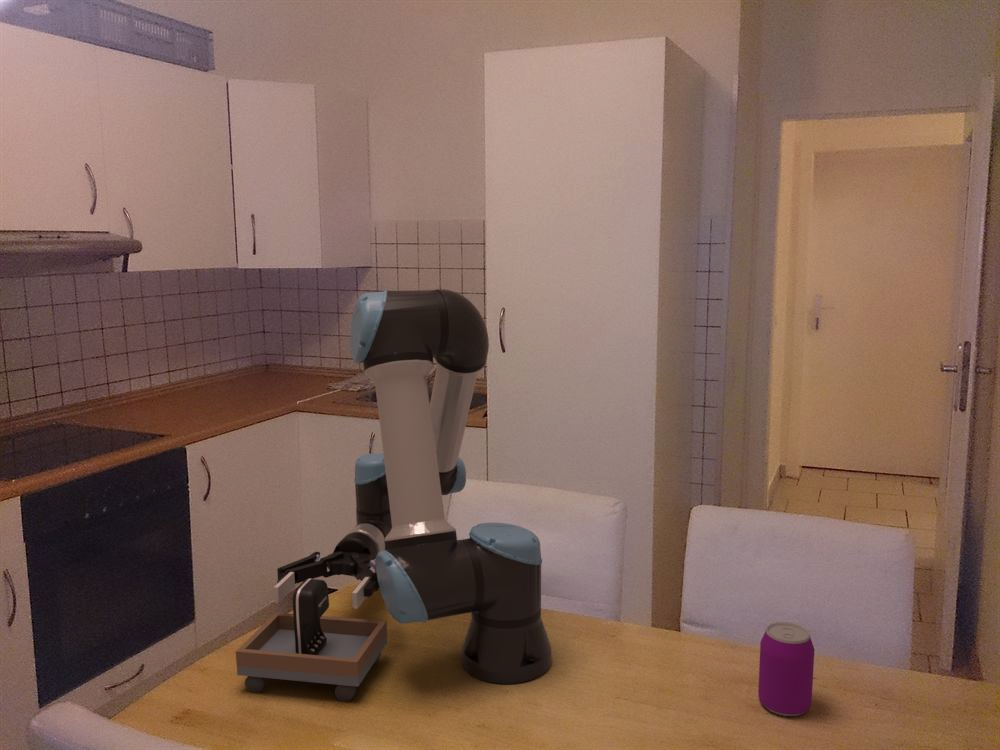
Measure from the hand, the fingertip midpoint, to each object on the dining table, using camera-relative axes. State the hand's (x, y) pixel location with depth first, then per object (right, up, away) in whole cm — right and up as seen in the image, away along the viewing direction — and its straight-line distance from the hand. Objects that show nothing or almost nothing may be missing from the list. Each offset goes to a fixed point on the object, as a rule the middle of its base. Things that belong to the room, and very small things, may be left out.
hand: (314, 598), depth 136 cm
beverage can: (+74, -14, -10) cm, 76 cm away
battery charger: (0, -9, 0) cm, 9 cm away
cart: (0, -13, 0) cm, 13 cm away
